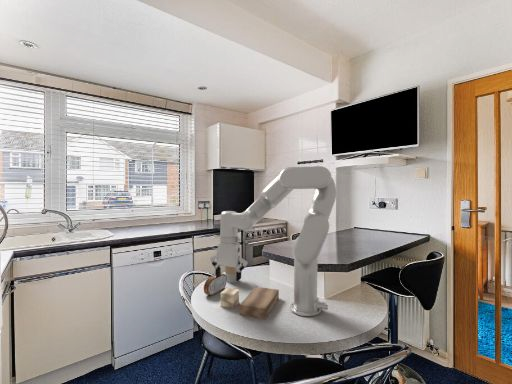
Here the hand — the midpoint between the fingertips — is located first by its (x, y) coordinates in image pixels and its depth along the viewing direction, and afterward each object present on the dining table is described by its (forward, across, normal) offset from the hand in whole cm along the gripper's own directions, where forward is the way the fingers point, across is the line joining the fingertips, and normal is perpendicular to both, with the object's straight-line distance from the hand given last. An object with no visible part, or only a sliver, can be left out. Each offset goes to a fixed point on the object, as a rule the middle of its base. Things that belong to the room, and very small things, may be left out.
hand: (228, 278), depth 124 cm
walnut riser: (+11, -14, -3) cm, 18 cm away
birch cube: (+12, -1, 0) cm, 12 cm away
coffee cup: (+12, +10, -26) cm, 30 cm away
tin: (+12, +11, -10) cm, 19 cm away
